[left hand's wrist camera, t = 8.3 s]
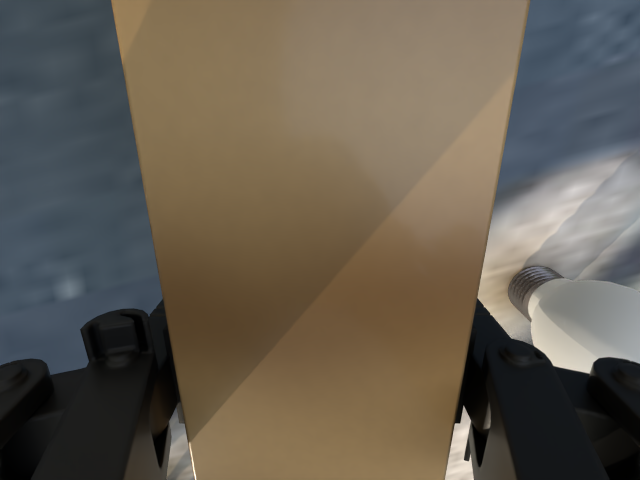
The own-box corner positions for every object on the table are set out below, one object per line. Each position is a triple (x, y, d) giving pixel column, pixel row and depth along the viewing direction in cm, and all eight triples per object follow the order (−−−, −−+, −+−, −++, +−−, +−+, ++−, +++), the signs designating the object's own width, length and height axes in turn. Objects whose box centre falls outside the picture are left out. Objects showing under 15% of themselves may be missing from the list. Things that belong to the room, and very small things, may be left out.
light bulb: (473, 309, 27) (570, 435, 16) (524, 231, 24) (673, 320, 14) (548, 337, 27) (685, 474, 17) (603, 265, 25) (798, 371, 15)
